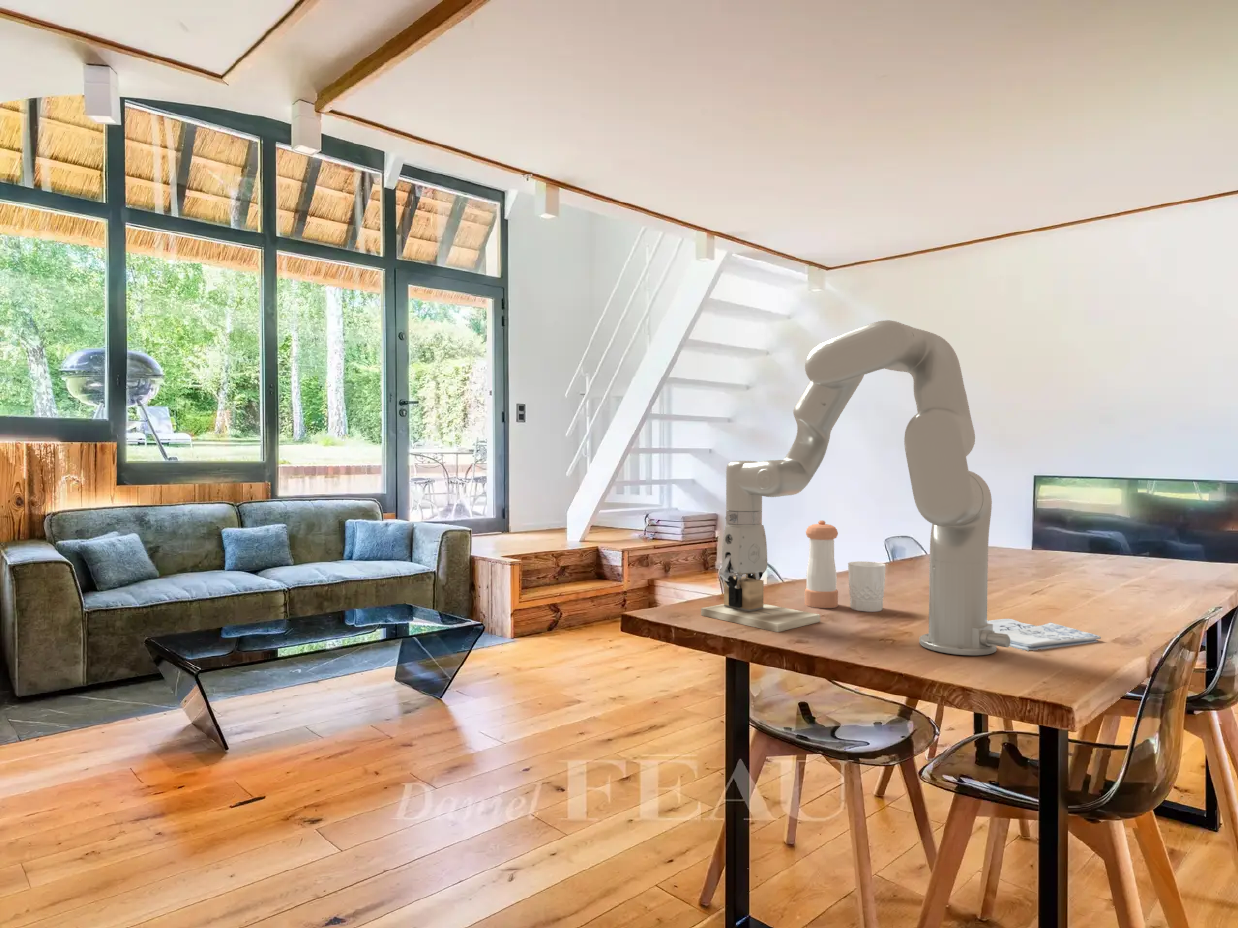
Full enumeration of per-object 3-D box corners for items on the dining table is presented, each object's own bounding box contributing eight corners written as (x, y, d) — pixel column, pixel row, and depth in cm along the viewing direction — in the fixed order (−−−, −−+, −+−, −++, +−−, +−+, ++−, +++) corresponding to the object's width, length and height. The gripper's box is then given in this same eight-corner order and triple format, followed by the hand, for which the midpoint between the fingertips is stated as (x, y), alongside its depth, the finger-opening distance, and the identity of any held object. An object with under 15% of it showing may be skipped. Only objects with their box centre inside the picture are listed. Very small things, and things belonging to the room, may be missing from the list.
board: (820, 621, 160) (820, 614, 160) (777, 632, 151) (777, 624, 151) (743, 606, 175) (743, 599, 175) (701, 615, 166) (701, 608, 166)
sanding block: (763, 608, 165) (763, 580, 165) (749, 611, 162) (749, 582, 162) (737, 603, 170) (737, 576, 170) (723, 606, 167) (724, 578, 167)
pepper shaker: (841, 608, 173) (842, 522, 173) (808, 608, 174) (809, 521, 173) (833, 601, 181) (834, 519, 180) (801, 601, 181) (802, 519, 181)
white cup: (847, 611, 170) (847, 565, 170) (848, 604, 178) (848, 560, 178) (885, 613, 168) (886, 567, 168) (884, 606, 176) (885, 562, 175)
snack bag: (1028, 655, 137) (1028, 642, 137) (940, 630, 155) (940, 619, 155) (1103, 644, 144) (1103, 633, 144) (1011, 622, 163) (1011, 612, 163)
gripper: (731, 522, 157) (730, 613, 158) (782, 518, 168) (782, 602, 169) (703, 520, 163) (703, 607, 163) (755, 515, 174) (754, 597, 174)
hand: (743, 604), depth 166 cm, fingers closed on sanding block, 4 cm apart
